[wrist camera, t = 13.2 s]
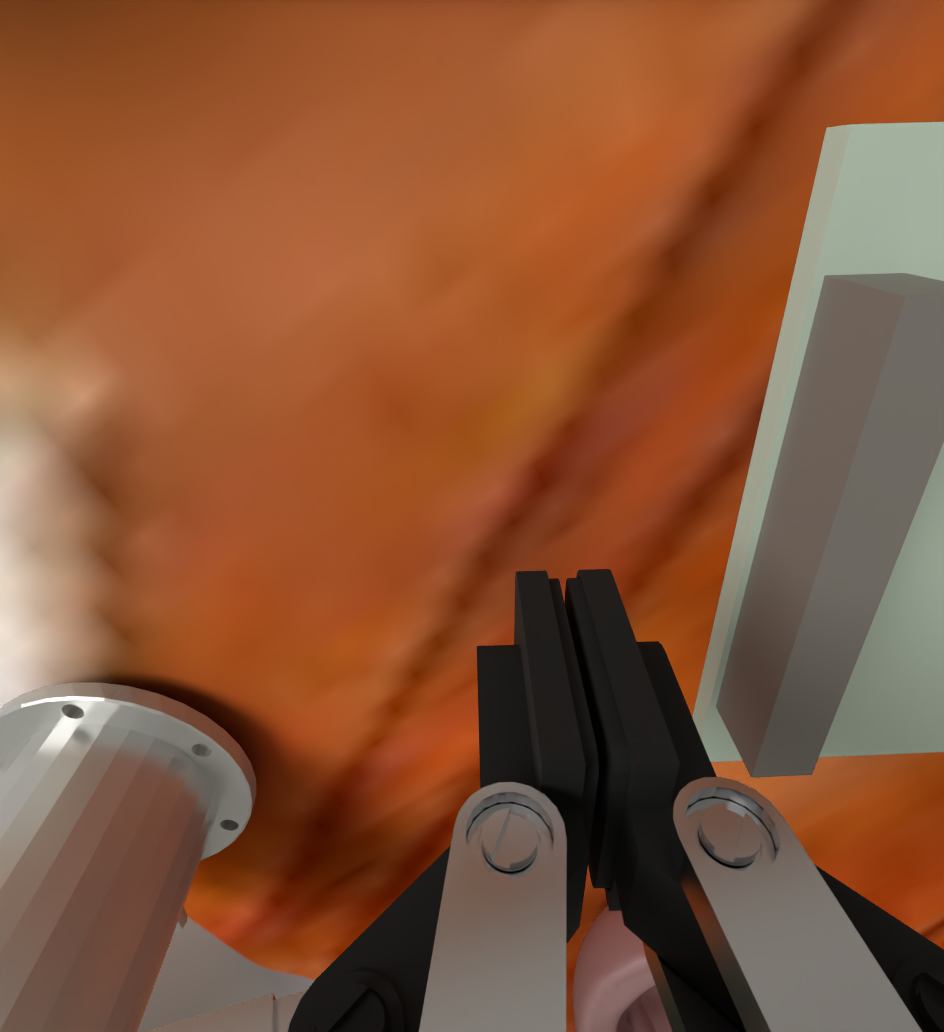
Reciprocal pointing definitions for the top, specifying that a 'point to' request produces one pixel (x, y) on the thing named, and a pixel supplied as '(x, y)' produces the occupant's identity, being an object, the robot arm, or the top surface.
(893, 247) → the lid
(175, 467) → the top surface
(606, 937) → the mortar and pestle
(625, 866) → the robot arm
